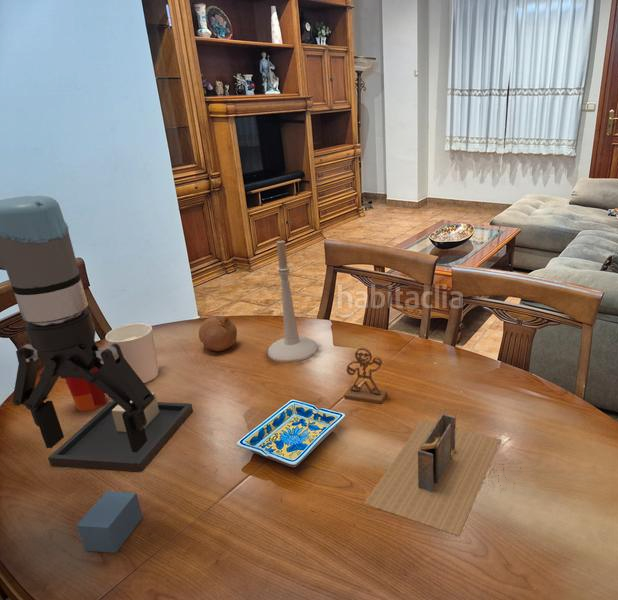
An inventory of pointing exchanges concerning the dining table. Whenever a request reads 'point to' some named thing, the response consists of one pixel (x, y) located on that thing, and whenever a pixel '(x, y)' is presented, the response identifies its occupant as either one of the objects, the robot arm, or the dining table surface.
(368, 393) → the gingerbread man figurine
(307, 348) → the candlestick
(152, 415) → the cream block
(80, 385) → the paper cup
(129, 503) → the blue block
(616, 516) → the dining table surface
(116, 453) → the tray
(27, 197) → the robot arm
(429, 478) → the architectural model on board
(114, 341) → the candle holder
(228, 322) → the onion
